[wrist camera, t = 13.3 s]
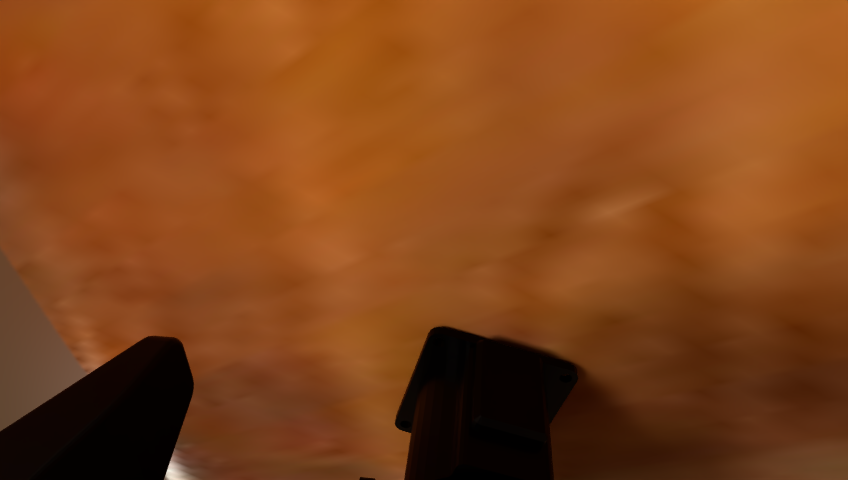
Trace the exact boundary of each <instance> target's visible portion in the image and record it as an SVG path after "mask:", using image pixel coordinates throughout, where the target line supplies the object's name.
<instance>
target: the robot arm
mask: <svg viewBox="0 0 848 480" xmlns="http://www.w3.org/2000/svg"><path fill="white" fill-rule="evenodd" d="M436 338H442V339H444V340H442V341H441V340H437V339H436ZM563 374H569V375H566V376H565V375H563ZM577 380H578V375H577V369H576V367H575V366H574V365H572V364H570V363H567V362H563V361H560V360H556V359H553V358H549V357H546V356H542V355H539V354H535V353H532V352H528V351H525V350H521V349H517V348H514V347H510V346H507V345H503V344H500V343H496V342H493V341H489V340H486V339H482V338H479V337H475V336H472V335H468V334H465V333H461V332H458V331H454V330H451V329H447V328H443V327H436V328H433V329H431V330H430V332H429V333H428V336H427V338H426V341H425V343H424V346H423V349H422V351H421V354H420V356H419V359H418V361H417V364H416V366H415V369H414V371H413V374H412V377H411V379H410V382H409V384H408V387H407V389H406V392H405V394H404V397H403V399H402V402H401V405H400V407H399V410H398V412H397V415H396V420H395V425H396V427H397V428H398V429H400V430H402V431H405V432H409V433H411V438H410V445H409V452H408V458H407V465H406V472H405V478H404V480H554V475H553V463H552V451H551V439H550V427H549V425H550V423H551V422H552V420H553V418H554V417H555V415H556V414H557V412H558V411H559V409H560V407H561V406H562V404H563V403H564V401H565V400H566V398H567V396H568V395H569V393H570V392H571V390H572V389H573V387H574V385H575V384H576V382H577ZM193 389H194V382H193V376H192V373H191V370H190V366H189V363H188V360H187V357H186V353H185V350H184V347H183V344H182V342H181V341H180V340H179V339H177V338H175V337H163V336H148V337H146V338H144V339H142V340H140V341H139V342H137V343H136V344H134V345H133V346H131V347H130V348H128V349H127V350H125V351H124V352H122V353H120V354H119V355H117V356H116V357H114V358H113V359H111V360H110V361H108V362H107V363H105V364H103V365H102V366H100V367H99V368H97V369H96V370H94V371H93V372H91V373H90V374H88V375H87V376H85V377H83V378H82V379H80V380H79V381H77V382H76V383H74V384H73V385H71V386H70V387H68V388H67V389H65V390H63V391H62V392H61V393H59V394H57V395H56V396H54V397H53V398H52V399H50V400H48V401H46V402H45V403H43V404H42V405H40V406H39V407H37V408H36V409H34V410H33V411H31V412H30V413H28V414H26V415H25V416H23V417H22V418H20V419H19V420H17V421H16V422H14V423H13V424H11V425H9V426H8V427H6V428H5V429H3V430H2V431H0V480H164V478H165V475H166V472H167V469H168V466H169V463H170V460H171V457H172V454H173V451H174V448H175V445H176V442H177V439H178V437H179V434H180V431H181V428H182V425H183V422H184V419H185V416H186V413H187V410H188V407H189V404H190V401H191V398H192V395H193ZM359 480H375V478H364V477H360V479H359Z"/></svg>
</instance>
